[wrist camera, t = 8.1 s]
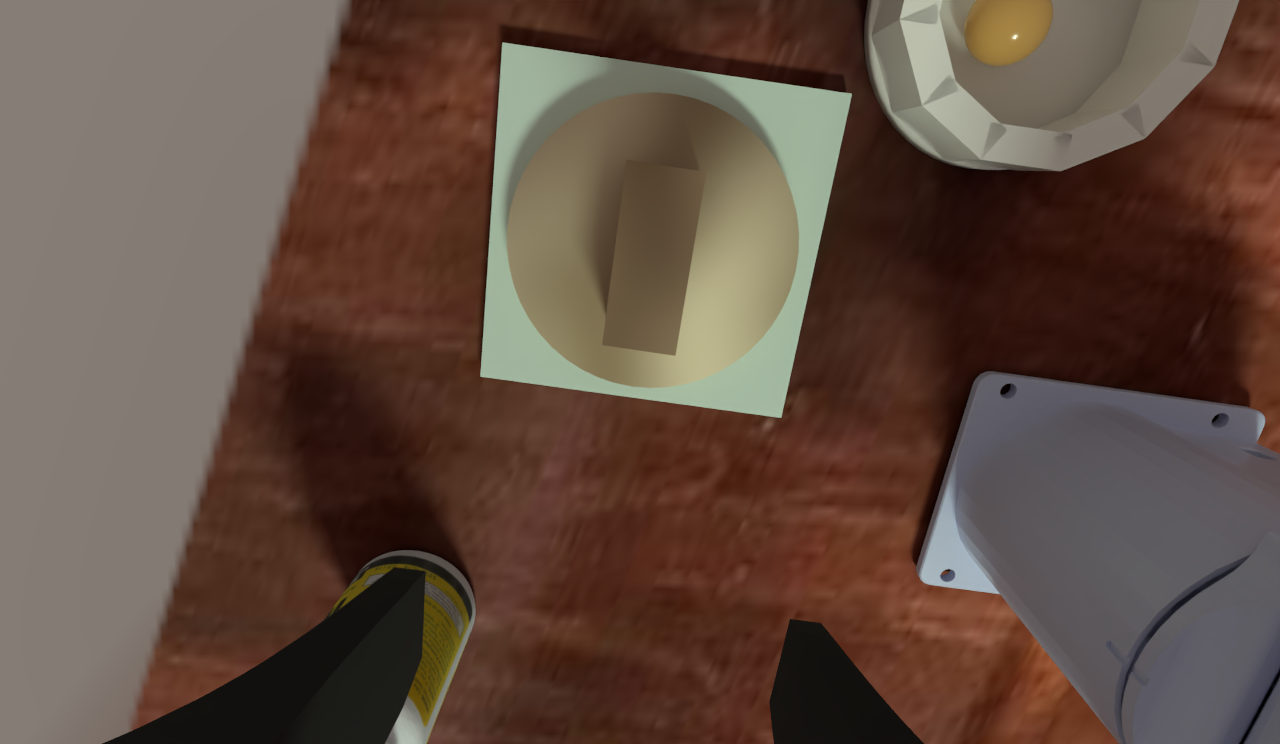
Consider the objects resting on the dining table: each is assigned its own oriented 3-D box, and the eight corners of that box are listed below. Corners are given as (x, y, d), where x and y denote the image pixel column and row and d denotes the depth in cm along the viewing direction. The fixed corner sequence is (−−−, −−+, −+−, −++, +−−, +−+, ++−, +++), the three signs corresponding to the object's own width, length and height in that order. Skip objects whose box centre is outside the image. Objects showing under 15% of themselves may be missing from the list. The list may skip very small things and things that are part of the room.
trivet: (847, 95, 19) (852, 93, 19) (778, 412, 22) (781, 417, 22) (506, 45, 19) (502, 42, 18) (484, 371, 22) (480, 376, 21)
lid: (822, 119, 19) (855, 110, 16) (762, 397, 21) (781, 437, 18) (525, 73, 19) (499, 55, 16) (501, 359, 21) (475, 393, 18)
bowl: (1203, -125, 17) (1310, -182, 14) (1097, 187, 20) (1172, 191, 17) (904, -171, 17) (954, -238, 14) (835, 149, 20) (866, 146, 17)
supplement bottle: (358, 534, 24) (209, 720, 16) (485, 558, 24) (400, 753, 16) (350, 640, 25) (210, 859, 17) (470, 661, 26) (386, 888, 18)
